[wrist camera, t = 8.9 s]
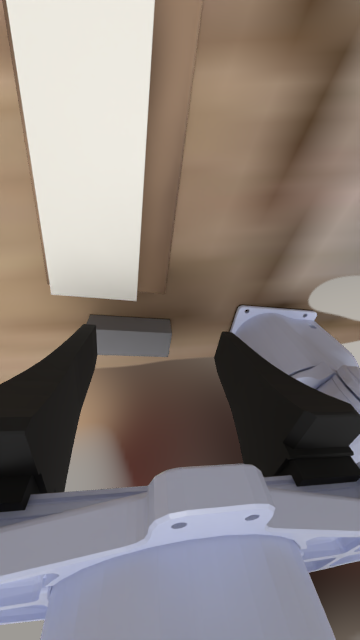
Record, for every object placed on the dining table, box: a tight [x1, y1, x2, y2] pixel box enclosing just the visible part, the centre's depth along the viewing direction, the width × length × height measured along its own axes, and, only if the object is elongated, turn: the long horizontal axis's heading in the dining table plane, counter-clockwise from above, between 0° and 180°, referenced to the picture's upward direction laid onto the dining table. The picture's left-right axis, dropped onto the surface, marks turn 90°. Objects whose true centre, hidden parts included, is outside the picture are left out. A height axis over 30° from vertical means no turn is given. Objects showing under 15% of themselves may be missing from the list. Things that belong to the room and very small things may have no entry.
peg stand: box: [2, 0, 203, 294], centre depth 14 cm, size 10×18×5 cm, turn 171°
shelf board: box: [6, 0, 155, 301], centre depth 11 cm, size 14×5×2 cm, turn 171°
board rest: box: [87, 315, 172, 357], centre depth 23 cm, size 8×3×2 cm, turn 81°
